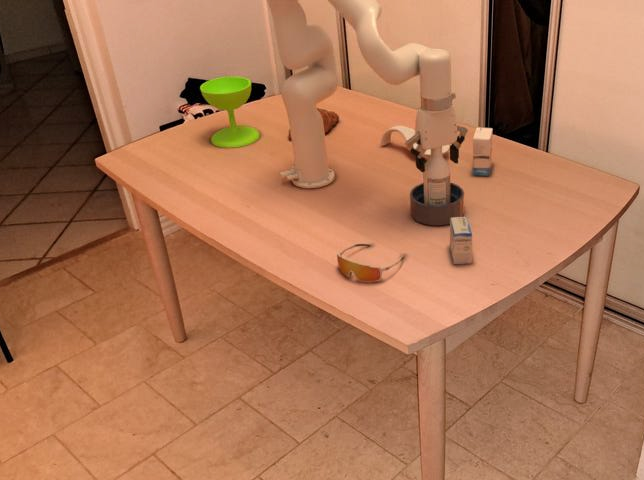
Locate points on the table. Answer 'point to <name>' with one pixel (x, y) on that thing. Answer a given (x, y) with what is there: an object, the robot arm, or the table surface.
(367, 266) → the sunglasses
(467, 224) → the medicine box
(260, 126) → the table surface
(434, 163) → the bath foam
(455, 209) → the bowl
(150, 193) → the table surface
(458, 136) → the robot arm
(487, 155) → the ink box
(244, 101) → the wineglass
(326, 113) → the pastry
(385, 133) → the spoon rest
